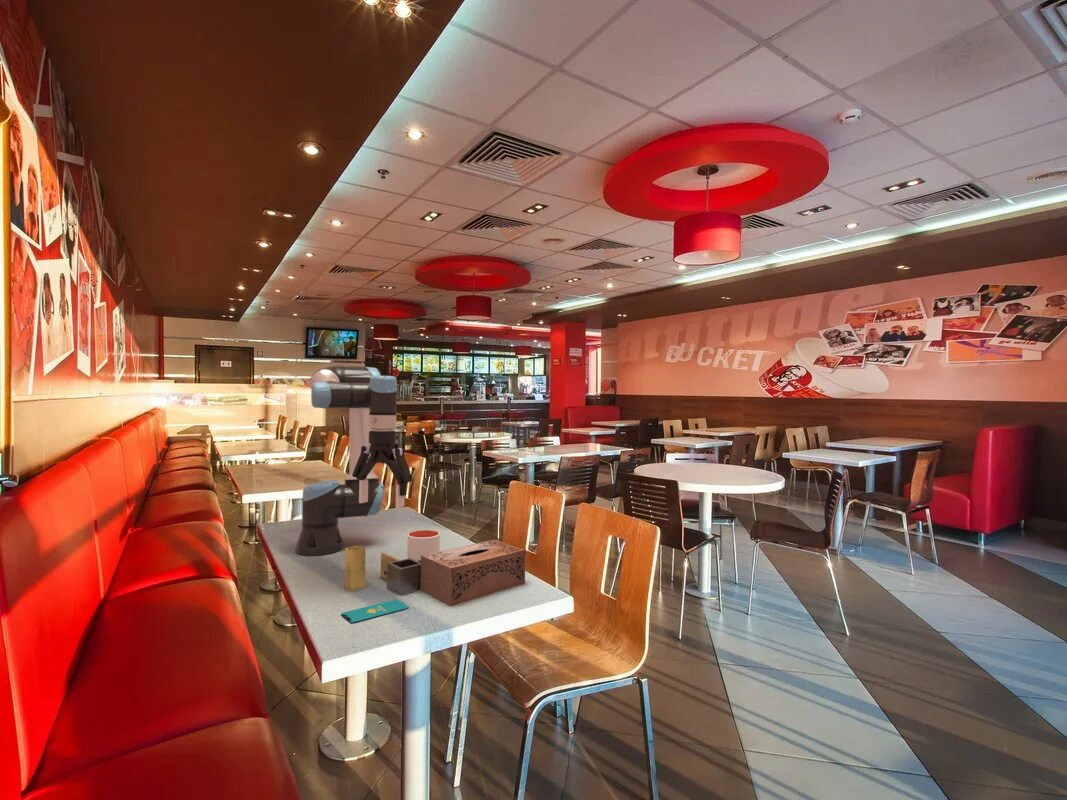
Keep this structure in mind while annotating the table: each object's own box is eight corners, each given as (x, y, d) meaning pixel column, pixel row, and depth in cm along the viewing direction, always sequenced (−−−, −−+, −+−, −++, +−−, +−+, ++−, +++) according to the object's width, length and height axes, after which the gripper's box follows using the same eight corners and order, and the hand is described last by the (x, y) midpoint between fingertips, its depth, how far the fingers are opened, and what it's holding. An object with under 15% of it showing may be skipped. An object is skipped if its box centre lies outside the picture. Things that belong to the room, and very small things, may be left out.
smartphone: (410, 606, 133) (351, 622, 123) (409, 610, 133) (351, 625, 123) (396, 598, 138) (339, 613, 128) (396, 601, 138) (339, 616, 128)
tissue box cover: (493, 572, 163) (493, 539, 163) (524, 584, 152) (525, 549, 152) (420, 592, 145) (420, 555, 145) (450, 607, 134) (450, 568, 134)
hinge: (370, 579, 154) (370, 555, 154) (421, 567, 166) (422, 544, 166) (399, 595, 141) (400, 569, 141) (453, 581, 153) (453, 557, 153)
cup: (432, 571, 162) (432, 538, 162) (401, 568, 164) (402, 536, 164) (444, 561, 171) (444, 531, 171) (415, 559, 173) (415, 529, 173)
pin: (344, 587, 147) (345, 547, 147) (358, 584, 150) (359, 545, 150) (350, 591, 144) (351, 550, 144) (364, 587, 147) (365, 548, 147)
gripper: (340, 428, 152) (339, 502, 152) (408, 432, 141) (407, 511, 141) (359, 427, 159) (358, 498, 159) (426, 431, 148) (424, 507, 148)
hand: (381, 504), depth 150 cm, fingers open, 13 cm apart
